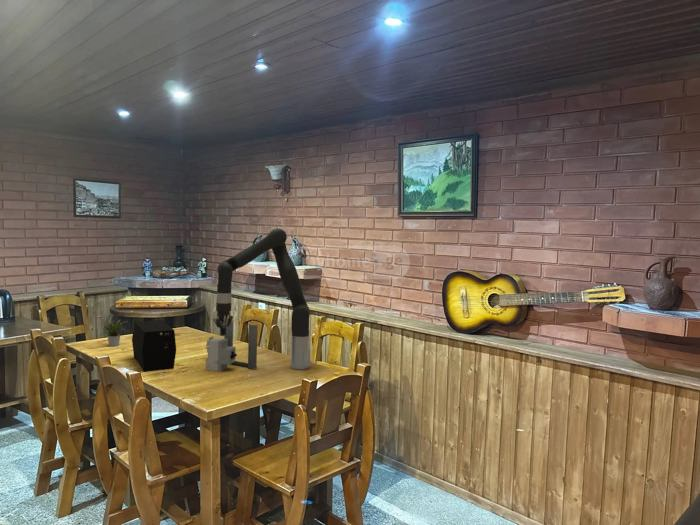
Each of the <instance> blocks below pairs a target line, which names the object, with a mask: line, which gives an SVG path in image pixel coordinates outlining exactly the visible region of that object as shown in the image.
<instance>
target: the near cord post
mask: <svg viewBox="0 0 700 525" xmlns="http://www.w3.org/2000/svg"><path fill="white" fill-rule="evenodd" d="M247 325H248V340H247V341H248V347H247V348H248V349H247V350H248V351H247V353H248V354H247V363H248V367H247V369H249V370H255V369H257V361H258V360H257V357H258V356H257V354H258V326H259V321H248V322H247Z"/></svg>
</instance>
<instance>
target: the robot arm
mask: <svg viewBox="0 0 700 525" xmlns="http://www.w3.org/2000/svg"><path fill="white" fill-rule="evenodd" d="M287 236H288V235H287V233H286V231H285V230H284V229H283V228H282V229H281V228H274V229H272V230H270V231H269V233H267V235H266V236H264V238H262V239H260V241H258V242H256V243H254V244H252V245H250V246H249V247H246V248H245V249H243V250H241V251H239V252H238V253H236V254H235V255H234V256H232V257H229V258H228V259H225V260H224V261H222V262H220V263H218V265H217V268H216V270H217V273H218V274H217V275H218V276H217V278H218V280H217V281H218V282H217V285H216V287H217V288H216V289H217V290H216V300H215V302H216V303H215V306H216V307H215V310H216V312H217V313H216V317H215V318H213V319H212V320H213V322H214V323H215V326H216V327H217V328H219V329H220V330H219V336H223V337H224V336H225V335H226V328H227V326H229V325H230V323H231V321H232V319H234V316H233V315H231V312H232V303H233V302H232V298H233V296H232V280H233V272H234V271H236V270H237V269H241V268H243V267H244V266H247V265H248V264H249V263H251V262H253V261H254V260H256V259H257V258H258V257H260V256H261V255H262V254H264V253H267V252H268V251H270V250H271V251H272V254H273V255H274V260H275V262H276V268H277V270H278V274H279V278H280V281H281V283H282V286H283V287H284V290H285V291H286V293H287V295H288V297H289V299H290V303H291V308H292V312H291V327H290V328H291V346H290V347H291V348H290V368H291V369H293V370H303V371H304V370H306V369H309V368H310V367H311V349H310V317H311V310H310V308H309V306H308V305H309V304H308V303H307V301H306V299H305V296H304V294H303V288H302V285H301V280H300V277H299V274H298V270H297V268H296V265H295V264H294V261H293V260H292V258H291V256H290V255H289V252H288V249H287V246H286V241H287V239H288V237H287ZM225 321H226V322H225ZM227 323H228V324H227Z"/></svg>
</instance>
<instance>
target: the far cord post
mask: <svg viewBox="0 0 700 525" xmlns="http://www.w3.org/2000/svg"><path fill="white" fill-rule="evenodd" d="M225 322H226V321H225ZM234 322H235V318H233V319H232V321H231V323H230V325H229V326H227V328H226V335H225V336H223V337H224V338H223V339H228V346H231V347H234V346H233V345H234V344H233V343H234ZM227 324H228V323H227ZM230 365H233V364H232V363H231V364H230Z"/></svg>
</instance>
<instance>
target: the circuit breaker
mask: <svg viewBox="0 0 700 525" xmlns="http://www.w3.org/2000/svg"><path fill="white" fill-rule="evenodd" d="M205 346H206V350H207V349H208V353H207V360H205V370H206V371H213V372H222V371H223V370H226V369H227V368H228V366H229V365H232V364H231V363H233V362H235V361H236V357H237V356H238V354H237V352H236V349H237V347H236V346H233V347H231V346H228V339H224V338H220V337H218V338H216V337H214V338H213V339H211V340H209V339H208V340H206V345H205Z"/></svg>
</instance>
